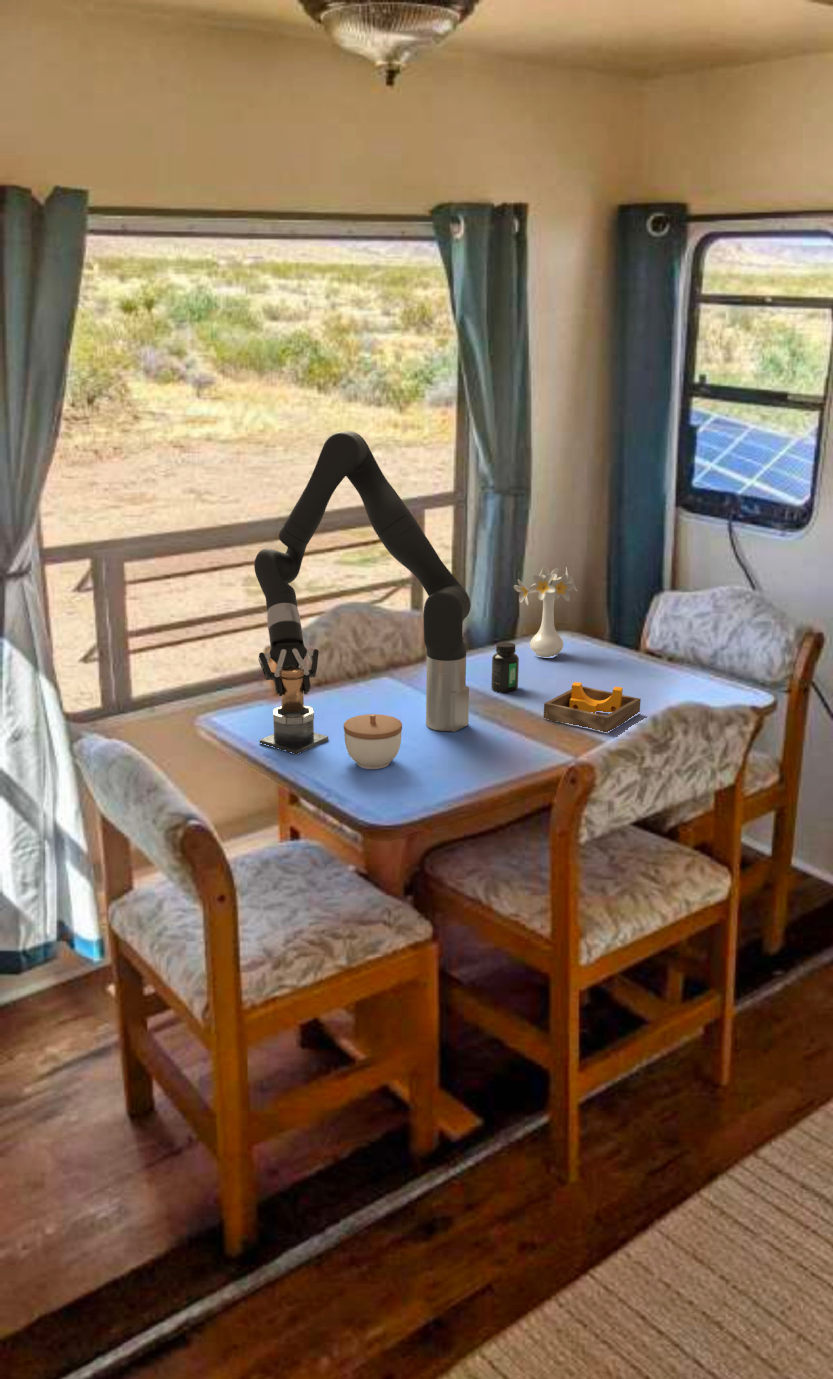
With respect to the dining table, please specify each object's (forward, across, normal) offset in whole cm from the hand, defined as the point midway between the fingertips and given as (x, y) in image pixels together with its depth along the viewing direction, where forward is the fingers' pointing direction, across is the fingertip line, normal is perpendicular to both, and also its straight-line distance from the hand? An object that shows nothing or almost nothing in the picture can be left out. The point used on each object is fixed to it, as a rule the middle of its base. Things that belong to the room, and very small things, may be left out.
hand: (293, 693), depth 268 cm
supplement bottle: (-10, +58, +28) cm, 66 cm away
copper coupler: (+2, 0, +4) cm, 5 cm away
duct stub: (+8, 0, +10) cm, 12 cm away
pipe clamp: (+5, +75, +13) cm, 76 cm away
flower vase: (-28, +78, +45) cm, 95 cm away
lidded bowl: (+19, +15, -2) cm, 24 cm away
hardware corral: (+7, +72, +10) cm, 74 cm away
